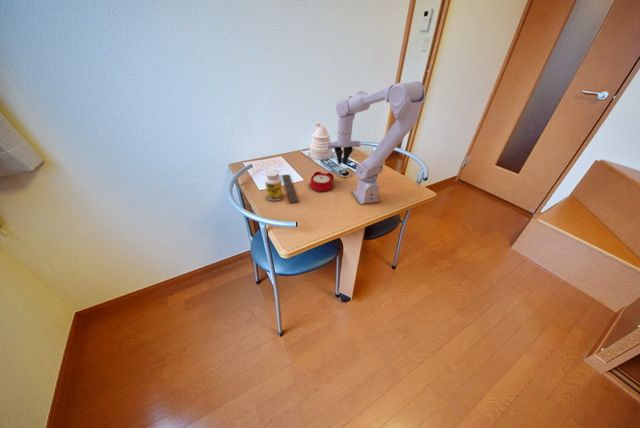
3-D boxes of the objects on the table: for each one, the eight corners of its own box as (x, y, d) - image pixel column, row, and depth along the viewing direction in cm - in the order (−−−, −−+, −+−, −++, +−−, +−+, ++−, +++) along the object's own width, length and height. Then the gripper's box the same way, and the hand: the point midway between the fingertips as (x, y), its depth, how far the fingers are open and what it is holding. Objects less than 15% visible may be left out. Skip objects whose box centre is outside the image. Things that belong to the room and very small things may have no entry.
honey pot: (310, 159, 123) (310, 126, 112) (309, 150, 134) (309, 119, 123) (332, 159, 124) (335, 126, 113) (330, 150, 135) (331, 119, 124)
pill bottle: (268, 202, 88) (264, 177, 82) (266, 194, 93) (263, 170, 86) (283, 200, 90) (281, 175, 83) (281, 192, 94) (279, 168, 88)
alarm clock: (306, 184, 93) (314, 163, 102) (307, 194, 98) (314, 173, 107) (330, 187, 92) (336, 165, 101) (330, 197, 96) (335, 176, 106)
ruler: (297, 202, 89) (297, 201, 88) (290, 203, 88) (290, 202, 88) (288, 175, 107) (288, 174, 107) (282, 176, 106) (282, 175, 106)
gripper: (357, 128, 94) (353, 158, 102) (324, 130, 90) (323, 161, 99) (364, 133, 88) (359, 164, 97) (329, 135, 85) (328, 167, 93)
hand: (341, 163), depth 97 cm, fingers closed
